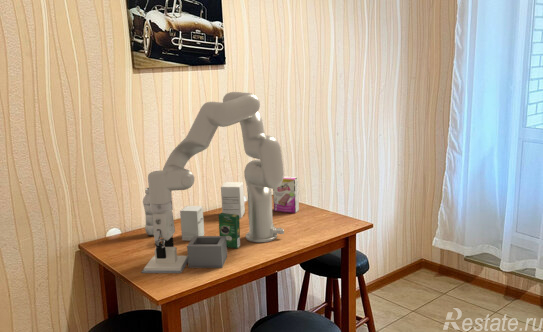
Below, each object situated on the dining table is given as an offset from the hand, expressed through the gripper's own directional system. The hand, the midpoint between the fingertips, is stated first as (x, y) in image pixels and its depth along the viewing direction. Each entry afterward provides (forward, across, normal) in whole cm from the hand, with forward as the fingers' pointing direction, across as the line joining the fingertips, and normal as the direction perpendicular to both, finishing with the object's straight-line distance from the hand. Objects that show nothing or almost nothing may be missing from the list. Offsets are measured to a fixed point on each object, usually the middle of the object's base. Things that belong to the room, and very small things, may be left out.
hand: (165, 252), depth 182 cm
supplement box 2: (+5, +57, -15) cm, 59 cm away
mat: (+5, 0, 0) cm, 5 cm away
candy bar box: (+5, +63, -39) cm, 74 cm away
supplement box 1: (+5, +28, -3) cm, 29 cm away
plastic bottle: (+5, +32, +15) cm, 36 cm away
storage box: (+5, +3, -14) cm, 16 cm away
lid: (+4, 0, 0) cm, 4 cm away
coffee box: (+5, +18, -20) cm, 27 cm away
